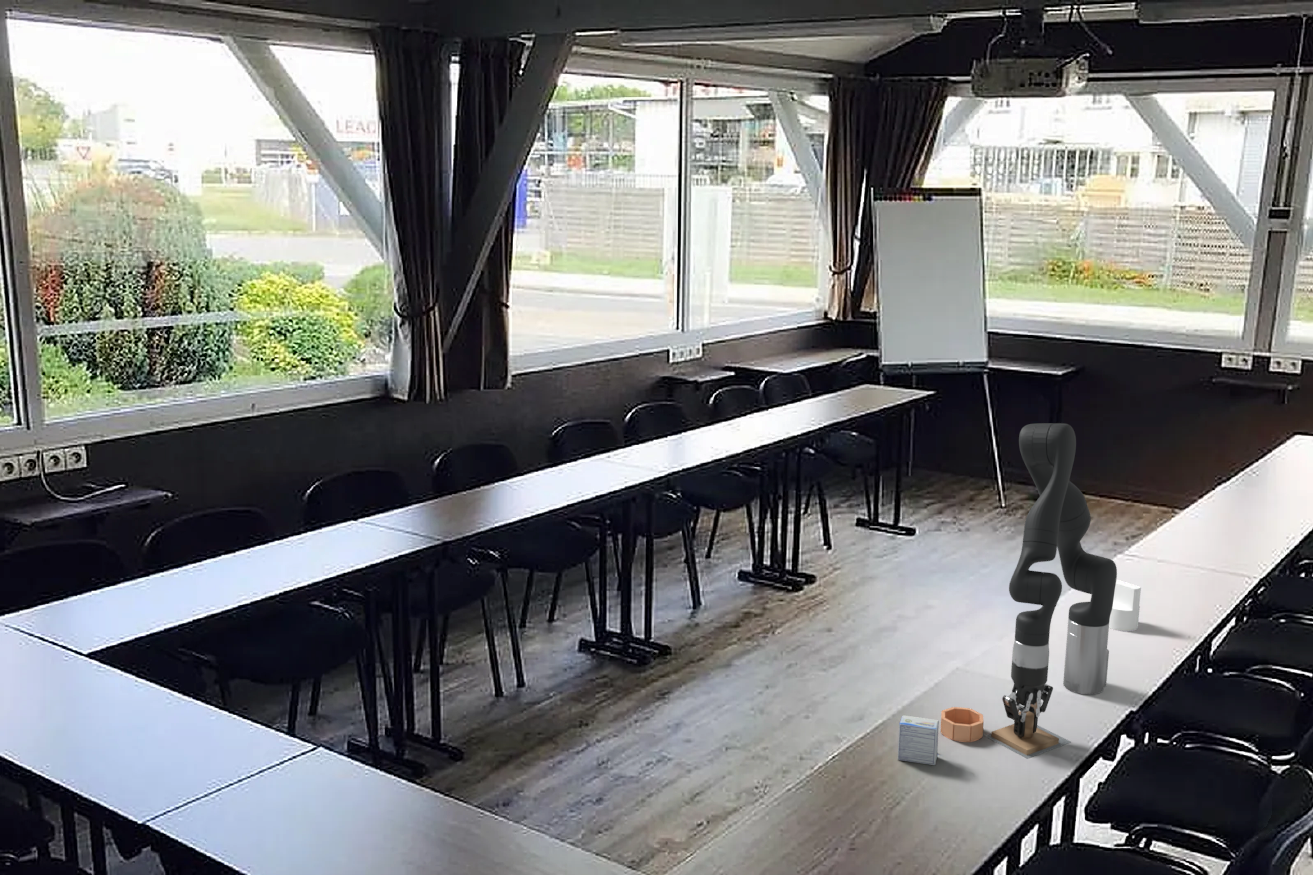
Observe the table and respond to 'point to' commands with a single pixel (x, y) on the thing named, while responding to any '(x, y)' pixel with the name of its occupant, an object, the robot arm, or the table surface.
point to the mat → (1061, 742)
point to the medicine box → (918, 740)
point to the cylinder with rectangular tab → (1125, 607)
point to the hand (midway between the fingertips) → (1025, 733)
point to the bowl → (962, 724)
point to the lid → (1025, 737)
